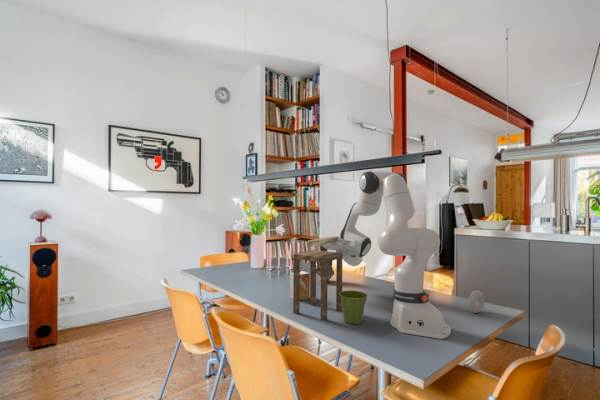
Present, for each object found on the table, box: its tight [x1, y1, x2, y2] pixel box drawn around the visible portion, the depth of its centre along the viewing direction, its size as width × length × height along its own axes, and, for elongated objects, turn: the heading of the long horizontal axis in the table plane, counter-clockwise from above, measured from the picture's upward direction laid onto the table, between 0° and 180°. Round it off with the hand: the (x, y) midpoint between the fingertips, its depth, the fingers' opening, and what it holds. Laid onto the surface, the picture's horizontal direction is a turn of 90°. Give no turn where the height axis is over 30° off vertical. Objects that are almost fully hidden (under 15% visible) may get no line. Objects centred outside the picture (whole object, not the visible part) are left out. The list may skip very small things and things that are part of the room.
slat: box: [307, 235, 340, 248], centre depth 149 cm, size 3×24×2 cm, turn 146°
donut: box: [467, 289, 485, 314], centre depth 145 cm, size 10×4×10 cm, turn 124°
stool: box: [292, 249, 343, 322], centre depth 144 cm, size 16×16×26 cm
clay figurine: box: [316, 245, 335, 283], centre depth 198 cm, size 13×10×25 cm
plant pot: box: [339, 290, 369, 325], centre depth 133 cm, size 12×12×11 cm
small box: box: [289, 270, 310, 301], centre depth 164 cm, size 8×6×13 cm
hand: (333, 238), depth 157 cm, fingers closed on slat, 3 cm apart
